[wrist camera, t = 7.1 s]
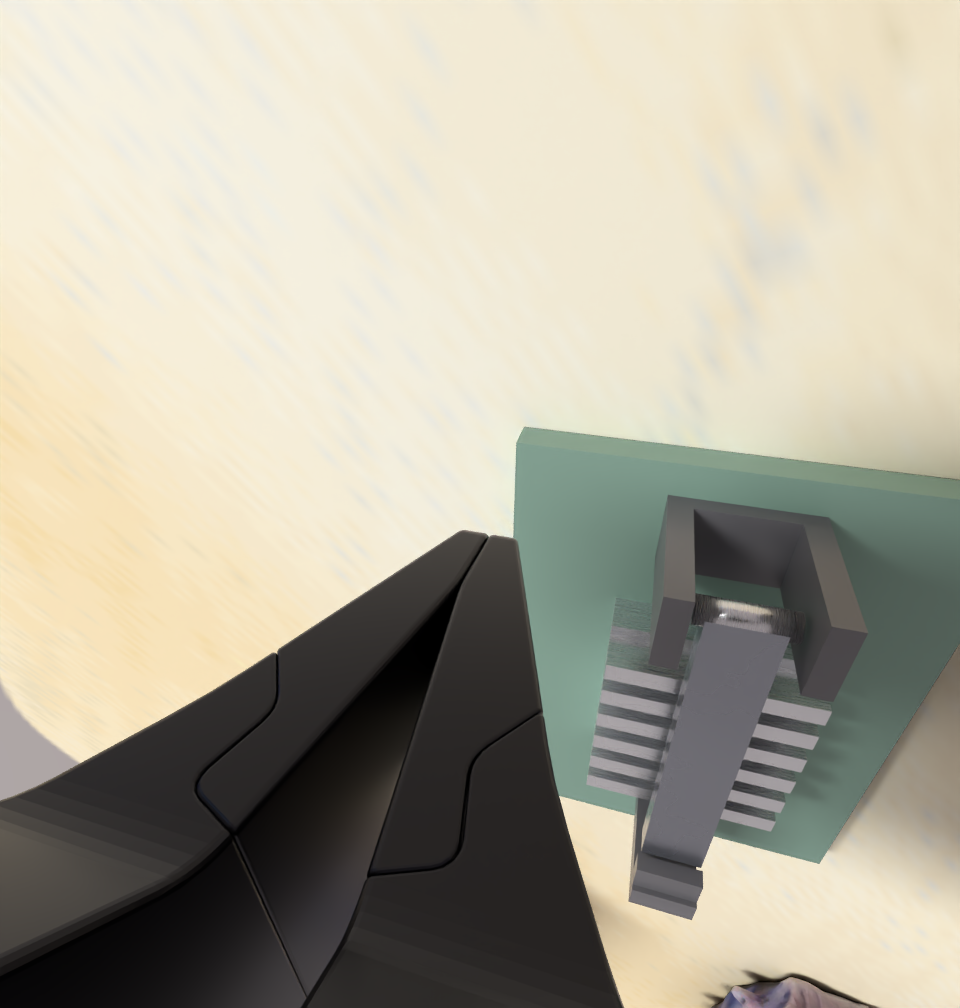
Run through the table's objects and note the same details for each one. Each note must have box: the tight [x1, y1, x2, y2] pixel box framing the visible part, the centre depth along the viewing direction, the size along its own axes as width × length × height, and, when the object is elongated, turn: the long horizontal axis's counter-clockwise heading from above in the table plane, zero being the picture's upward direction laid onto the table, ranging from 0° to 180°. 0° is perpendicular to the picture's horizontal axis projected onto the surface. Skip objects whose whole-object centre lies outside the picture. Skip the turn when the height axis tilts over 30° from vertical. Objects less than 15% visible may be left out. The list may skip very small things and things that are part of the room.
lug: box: [629, 797, 703, 920], centre depth 25 cm, size 2×2×5 cm
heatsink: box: [586, 598, 832, 832], centre depth 23 cm, size 7×8×3 cm
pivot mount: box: [648, 495, 868, 702], centre depth 18 cm, size 5×3×5 cm, turn 91°
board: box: [513, 427, 960, 864], centre depth 24 cm, size 15×20×1 cm
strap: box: [641, 593, 806, 868], centre depth 20 cm, size 12×3×1 cm, turn 1°
